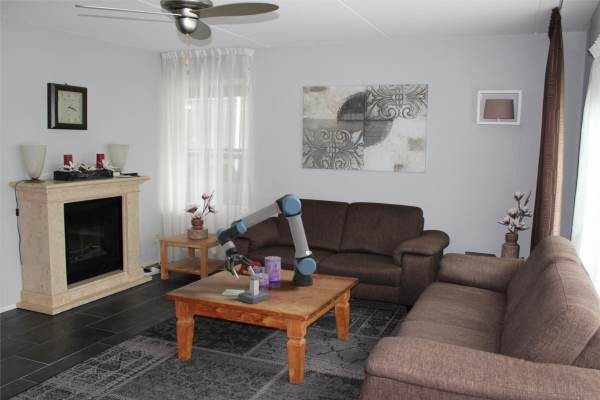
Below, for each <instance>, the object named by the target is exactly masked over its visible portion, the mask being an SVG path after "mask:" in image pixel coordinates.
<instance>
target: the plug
mask: <svg viewBox="0 0 600 400" xmlns="http://www.w3.org/2000/svg"><path fill="white" fill-rule="evenodd" d="M248 279H249V291H250V295H253V296H255V295H258V294H259V291H260V290H259V289H260V276H259V277H258V276H255V275H254V276H253V277H252V276H250V277H248Z"/></svg>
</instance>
